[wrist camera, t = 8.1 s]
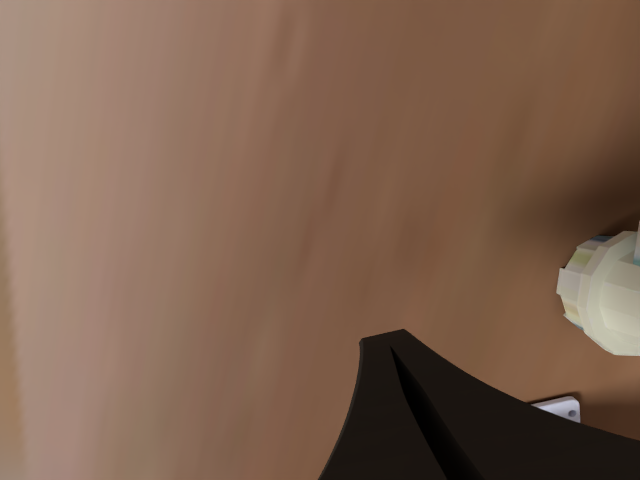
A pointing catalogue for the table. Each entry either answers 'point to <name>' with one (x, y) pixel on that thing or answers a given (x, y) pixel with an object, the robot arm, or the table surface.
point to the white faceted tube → (605, 291)
